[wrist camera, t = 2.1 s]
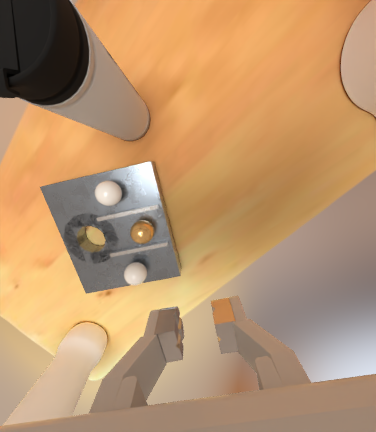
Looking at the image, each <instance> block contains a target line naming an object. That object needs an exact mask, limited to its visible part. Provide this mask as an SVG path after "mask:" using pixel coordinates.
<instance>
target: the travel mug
mask: <svg viewBox="0 0 376 432" xmlns="http://www.w3.org/2000/svg"><path fill="white" fill-rule="evenodd" d="M0 97H2V98H15V97H19V98H20V99H22V100H24V101H26V102H28V103H31V104H33V105H36V106H39V107H41V108H44V109H46V110H49V111H51V112H54V113H56V114H59V115H61V116H64V117H67V118H69V119H72V120H74V121H77V122H79V123H82V124H85V125H87V126H90V127H92V128H95V129H97V130H100V131H102V132H105V133H108V134H110V135H113V136H115V137H118V138H120V139H123V140H126V141H135V140H138V139H140V138H141V137H143V136H144V135H145V133H146V132H147V130H148V128H149V125H150V114H149V110H148V108H147V106H146V104H145V103H144V101H143V100H142V99H141V97H140V96H139V94H138V93H137V92H136V90H135V89H134V87H133V86H132V85H131V83H130V82H129V80H128V79H127V78H126V76H125V75H124V73H123V72H122V71H121V69H120V68H119V66H118V65H117V64H116V62H115V61H114V60H113V58H112V57H111V55H110V54H109V53H108V51H107V50H106V48H105V47H104V46H103V44H102V43H101V41H100V40H99V39H98V37H97V36H96V34H95V33H94V32H93V30H92V29H91V28H90V26H89V25H88V23H87V22H86V21H85V19H84V18H83V16H82V15H81V14H80V12H79V11H78V10H77V8H76V7H75V5H74V4H73V2H72V1H71V0H0Z"/></svg>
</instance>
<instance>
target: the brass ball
mask: <svg viewBox="0 0 376 432" xmlns="http://www.w3.org/2000/svg"><path fill="white" fill-rule="evenodd" d="M130 236H131V238H132V240H133V241H134V242H136V243H138V244H146V243H148V242H150V241H151V240H152V238H153V237H154V227H153V225H152V224H151V223H150V222H148V221H145V220H140V221H137V222H135V223H134V224H133V225H132V227H131V229H130Z"/></svg>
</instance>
